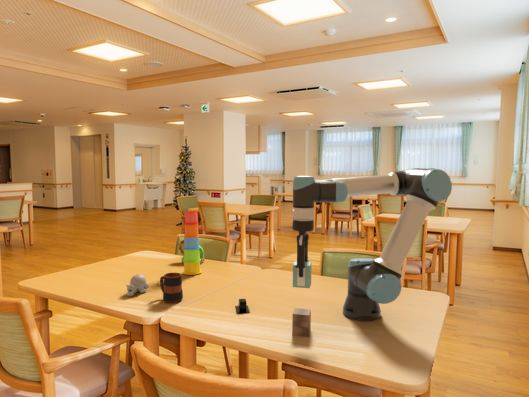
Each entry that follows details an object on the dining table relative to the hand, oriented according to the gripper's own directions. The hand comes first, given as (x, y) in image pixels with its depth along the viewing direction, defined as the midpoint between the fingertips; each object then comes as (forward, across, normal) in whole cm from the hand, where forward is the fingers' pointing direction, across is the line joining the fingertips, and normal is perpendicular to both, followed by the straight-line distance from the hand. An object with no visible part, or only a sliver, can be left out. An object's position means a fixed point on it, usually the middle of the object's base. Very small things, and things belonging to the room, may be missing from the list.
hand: (302, 282), depth 144 cm
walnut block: (+19, 0, 0) cm, 19 cm away
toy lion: (+19, -88, -79) cm, 120 cm away
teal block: (+1, 0, 0) cm, 1 cm away
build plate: (+19, -18, -27) cm, 38 cm away
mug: (+19, -22, -62) cm, 68 cm away
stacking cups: (+19, -65, -69) cm, 97 cm away
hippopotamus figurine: (+19, -26, -81) cm, 87 cm away
